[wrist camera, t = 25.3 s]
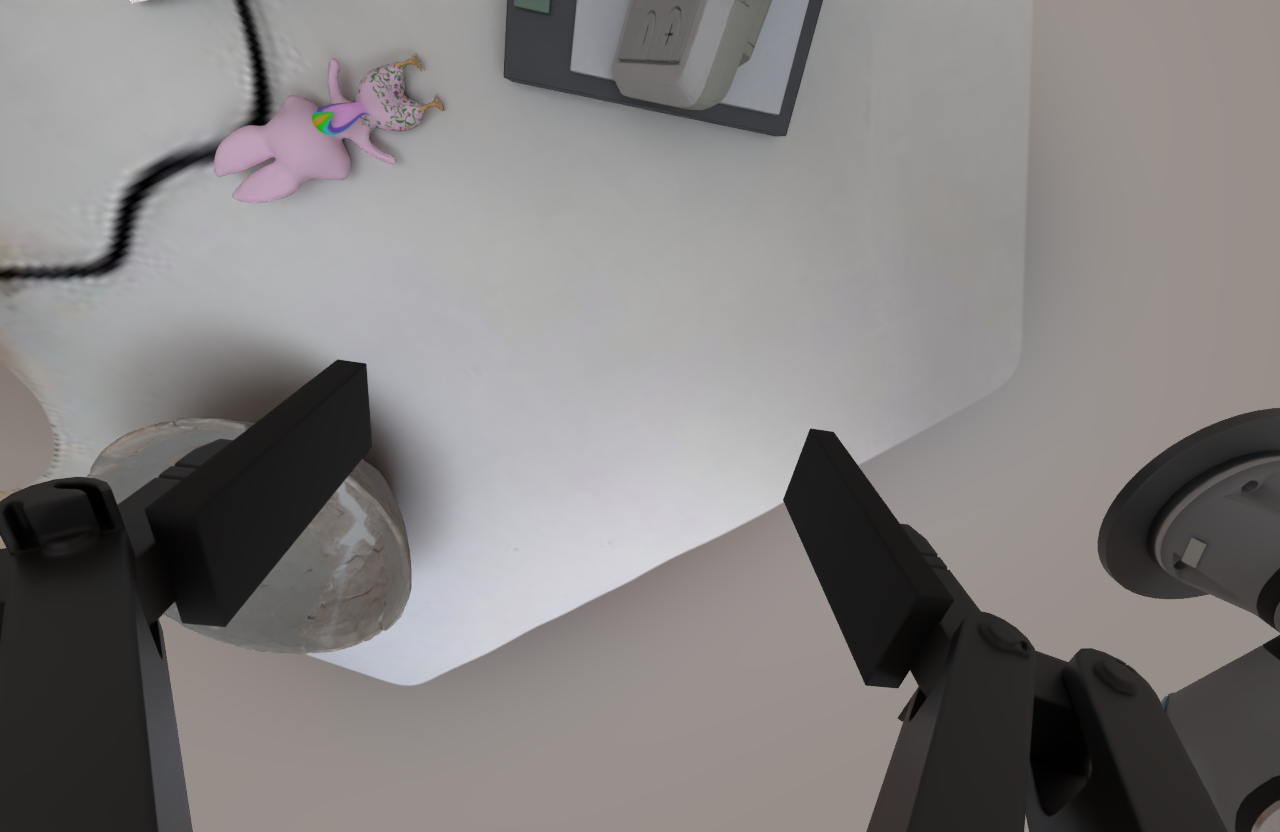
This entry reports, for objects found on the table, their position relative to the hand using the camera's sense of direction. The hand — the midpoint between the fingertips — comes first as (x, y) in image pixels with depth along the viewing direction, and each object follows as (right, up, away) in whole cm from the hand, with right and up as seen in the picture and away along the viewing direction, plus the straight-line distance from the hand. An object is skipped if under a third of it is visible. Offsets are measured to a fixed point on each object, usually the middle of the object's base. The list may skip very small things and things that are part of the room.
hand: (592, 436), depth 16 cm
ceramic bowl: (-28, -5, +32) cm, 43 cm away
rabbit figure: (-19, +20, +19) cm, 33 cm away
